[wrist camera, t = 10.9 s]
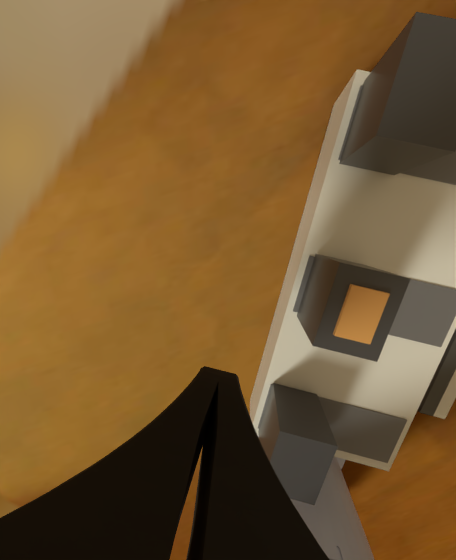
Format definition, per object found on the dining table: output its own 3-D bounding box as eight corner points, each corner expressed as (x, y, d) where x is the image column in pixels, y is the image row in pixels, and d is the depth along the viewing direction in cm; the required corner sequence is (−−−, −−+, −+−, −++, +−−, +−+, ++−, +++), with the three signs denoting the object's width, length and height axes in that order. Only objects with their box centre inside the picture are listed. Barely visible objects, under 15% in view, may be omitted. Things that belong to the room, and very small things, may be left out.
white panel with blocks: (365, 430, 20) (431, 546, 13) (250, 400, 21) (249, 494, 13) (489, 135, 15) (714, 46, 8) (334, 104, 16) (407, -9, 8)
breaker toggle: (344, 327, 15) (379, 364, 11) (296, 315, 15) (313, 347, 11) (366, 265, 14) (413, 279, 10) (315, 253, 14) (341, 263, 10)
